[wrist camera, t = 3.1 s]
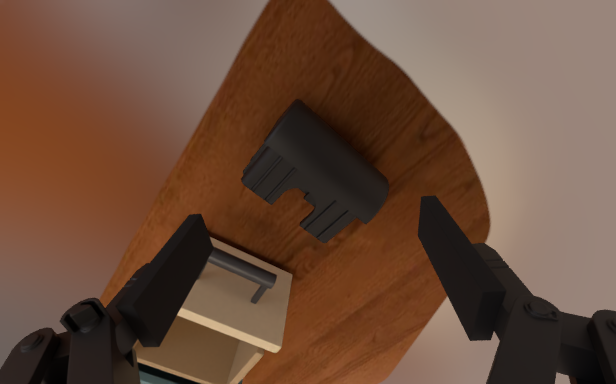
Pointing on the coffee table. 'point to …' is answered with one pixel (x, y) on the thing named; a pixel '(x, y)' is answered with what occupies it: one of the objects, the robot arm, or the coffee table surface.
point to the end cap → (316, 172)
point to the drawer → (224, 320)
